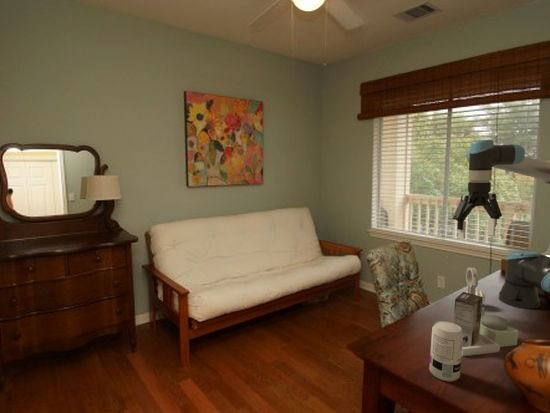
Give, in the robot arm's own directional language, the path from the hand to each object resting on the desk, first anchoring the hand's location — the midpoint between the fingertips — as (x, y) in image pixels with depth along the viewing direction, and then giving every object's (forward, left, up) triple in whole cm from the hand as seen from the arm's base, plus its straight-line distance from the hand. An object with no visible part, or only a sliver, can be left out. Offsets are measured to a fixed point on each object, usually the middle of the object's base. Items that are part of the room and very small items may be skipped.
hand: (476, 236), depth 134 cm
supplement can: (+34, +29, -34) cm, 56 cm away
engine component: (-1, -2, -34) cm, 34 cm away
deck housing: (+10, +15, -34) cm, 38 cm away
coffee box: (+15, +15, -33) cm, 40 cm away
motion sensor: (-11, -11, -34) cm, 37 cm away
